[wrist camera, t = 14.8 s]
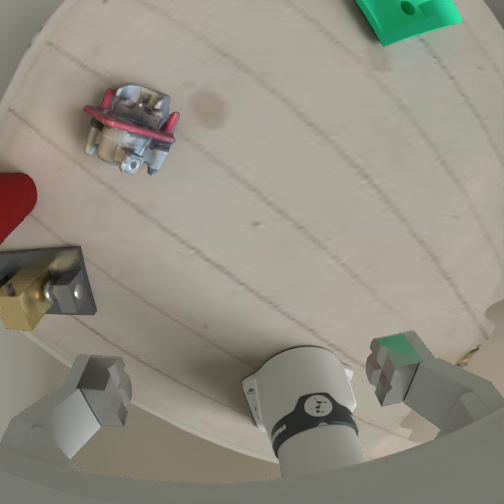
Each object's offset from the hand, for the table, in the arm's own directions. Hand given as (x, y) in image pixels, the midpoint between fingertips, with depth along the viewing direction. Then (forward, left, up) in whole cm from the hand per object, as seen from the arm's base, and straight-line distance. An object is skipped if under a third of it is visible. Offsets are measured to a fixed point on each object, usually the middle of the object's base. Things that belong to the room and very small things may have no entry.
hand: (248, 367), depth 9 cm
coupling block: (-11, +29, -28) cm, 41 cm away
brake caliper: (+8, +10, -29) cm, 32 cm away
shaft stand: (-12, +29, -29) cm, 42 cm away
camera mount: (+24, -22, -29) cm, 44 cm away
